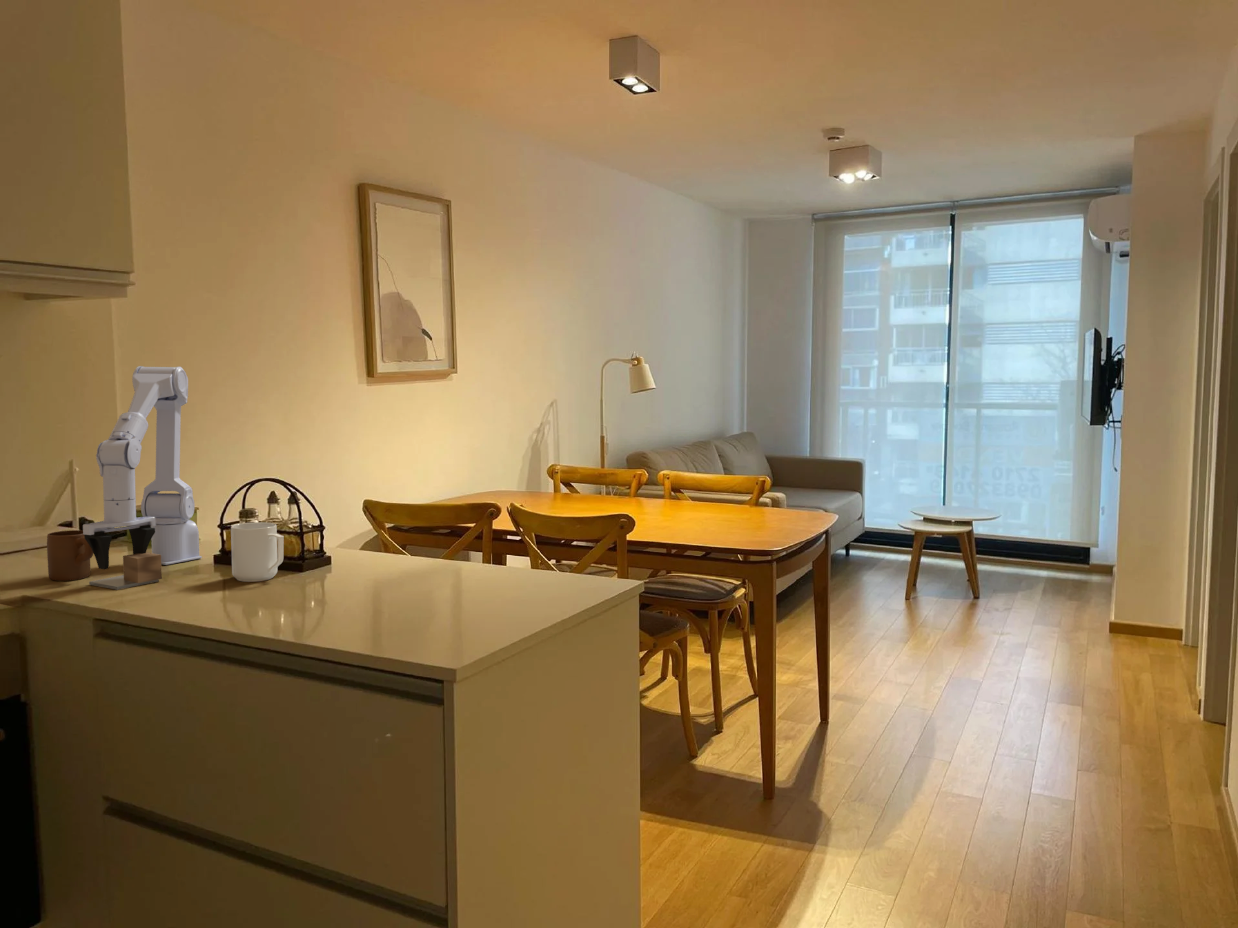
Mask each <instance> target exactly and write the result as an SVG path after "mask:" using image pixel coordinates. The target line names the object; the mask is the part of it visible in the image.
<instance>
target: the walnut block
mask: <svg viewBox="0 0 1238 928" xmlns="http://www.w3.org/2000/svg"><path fill="white" fill-rule="evenodd" d="M122 558H123V559H122V562H123V563H122V564H123V575H124V580H126V581H131V582H136V583H142V582H147V581H153V580H158V579H159V580H162V564H161V555H159V554H154V553H152V552H148V551H146V553H144V554H141V553H138V554H133V553H132V554H126V555H123V556H122Z"/></svg>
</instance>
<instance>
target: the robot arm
mask: <svg viewBox="0 0 1238 928" xmlns="http://www.w3.org/2000/svg"><path fill="white" fill-rule="evenodd" d="M131 377H132V378H131V379H132V386H133V390H134V394H133V397H132V398H131V402H130V405H129V408H128V411H127V412H124V413H122V414H120V415H119V416H118V419H117V421H116V423H115V425H114V427H113V429H112V430H111V433H110V435H109V437H108V438H107V439H105V440H103V441H102V442H100V443H99V444H98V446H97V447H96V449H97V450H96V454H95V456H96V463H97V465H98V467H99V474H100V477H102V486H103V488H102V490H103V495H102V496H103V520H101V521H97V522H92V523H85V524H83V525H82V531H83V534H84V537H85V540H86V541H87V542H88V544H89V545H90V547H91V549H92V551H93V555H94V559H95V560H96V564H97V568H98V569H99V570H109V568H110V567H109V565H110V546H111V542H112V540H113V539H112V538H113V536H112V535H107V533H109V532H110V533H111V532H117V531H124V530H128V531H129V535H130V539H131V543H132V554H138V553H141V554H144V553H146V552H148V551H147V550H148V547H149V544H150V542H151V553H154V554H159V555H161V566H162V565H163V566H167V565H173V564H177V563H182V562H188V561H193V560H199V559H202V558H203V557H202V555H200V533H199V528H198V526H197V524H196V522H195V521H193V520H192V519H191V518H192V517H193V515H194V513H195V506H196V505H195V500H194V495H193V494H194V492H193V488H192V487H191V486H190V485H189V484H188V483H187V482H185V481H183V480H182V479H181V478H180V471H181V470H180V469H181V468H180V467H181V465H180V463H181V423H182V421H181V420H182V419H181V417H182V415H181V414H182V406H185V405H186V404H187V403H188V397H189V377H188V375H187V373H186V371H185V370H184V369H183V367H182V366H143V365H139V366H137V367H136V368H135V369H134V370H133V372H132V376H131ZM153 408H155V410H156V423H155V424H156V426H155V427H156V430H155V432H156V433H155V479H154V480H152V481H151V482H150V483H149V484H148V485H146V486H145V487H144V488H143V495H142V500H141V504H140V511H141V515H142V516H140V517H137V502H136V501H137V499H136V468H137V467H138V465H139V464H140V461H141V453H142V449H143V447H142V442H143V439H144V437H145V435H146V433H147V431H148V428H149V423H148V420H147V417H148V416H149V415H150V413H151V411H152V409H153ZM162 492H165V493H162ZM166 492H171V493H166ZM173 492H175V493H173ZM176 492H177V493H176Z"/></svg>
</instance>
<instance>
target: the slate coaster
mask: <svg viewBox="0 0 1238 928" xmlns="http://www.w3.org/2000/svg"><path fill="white" fill-rule="evenodd" d="M159 580H160V579H158V580H153V581H147V582H142V583H136V582H131V581H126V580H124V574H121V575H117V576H111V577H105V578H102V579H96V580H92V581H91V580H90V581H88V583H89V586H95V587H101V588H104V589H105V588H107V589H111V590H116V591H118V590H123V589H127V588H132V587H138V586H142V585H147V584H152V583H156V582H157V583H159V582H160V581H159Z"/></svg>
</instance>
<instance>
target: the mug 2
mask: <svg viewBox="0 0 1238 928" xmlns="http://www.w3.org/2000/svg"><path fill="white" fill-rule="evenodd" d="M277 531H278V530H277V524H276V523H275V522H261V521H259V522H245V523H237V524H234V525H232V526H231V527H230V537H231V538H230V543H231V546H230V547H231V574H232V576H233V577H234V578H235V579H236V580H237V581H239V582H243V583H244V582H248V583H250V582H251V583H252V582H253V583H254V582H264V581H268V580H271V579H273V578H274V576H276V575H277V573H278V567H279V566H280V565H281V564H282V563H283V561H284V552H285V551H284V545H285V543H284V541H285V539H284V537H285V536H284V535H281V534H280V533H278V532H277Z"/></svg>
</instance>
